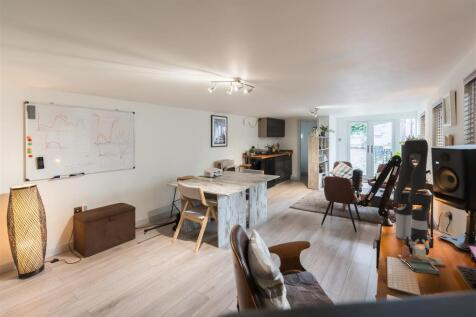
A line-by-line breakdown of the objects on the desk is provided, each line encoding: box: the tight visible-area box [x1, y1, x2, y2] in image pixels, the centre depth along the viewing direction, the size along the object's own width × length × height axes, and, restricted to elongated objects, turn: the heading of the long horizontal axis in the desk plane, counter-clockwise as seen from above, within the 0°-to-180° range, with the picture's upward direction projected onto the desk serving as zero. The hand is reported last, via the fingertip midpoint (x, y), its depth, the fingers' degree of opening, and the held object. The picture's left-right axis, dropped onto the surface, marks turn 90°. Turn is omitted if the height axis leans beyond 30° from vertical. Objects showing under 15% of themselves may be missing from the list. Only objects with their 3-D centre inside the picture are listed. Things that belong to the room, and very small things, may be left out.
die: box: [412, 245, 427, 257], centre depth 136 cm, size 5×5×5 cm
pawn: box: [401, 244, 410, 260], centre depth 132 cm, size 4×4×7 cm
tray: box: [406, 260, 440, 275], centre depth 123 cm, size 9×11×2 cm
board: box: [397, 254, 446, 267], centre depth 130 cm, size 7×20×1 cm, turn 75°
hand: (418, 253), depth 136 cm, fingers open, 7 cm apart
